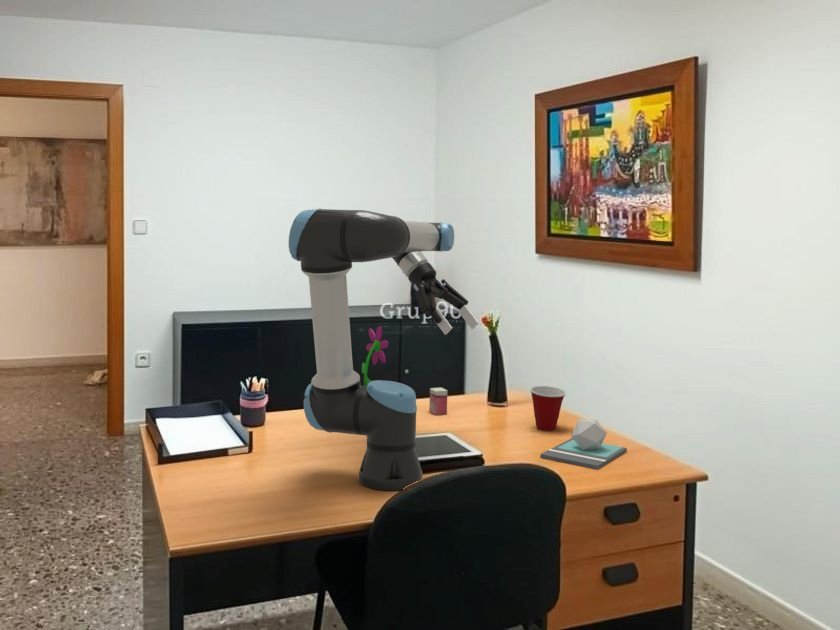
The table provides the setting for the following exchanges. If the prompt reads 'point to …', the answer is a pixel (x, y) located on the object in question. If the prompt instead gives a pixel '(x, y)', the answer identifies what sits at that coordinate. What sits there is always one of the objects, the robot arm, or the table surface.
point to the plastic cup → (547, 406)
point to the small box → (438, 401)
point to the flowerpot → (371, 347)
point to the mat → (583, 454)
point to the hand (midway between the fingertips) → (462, 328)
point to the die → (589, 434)
